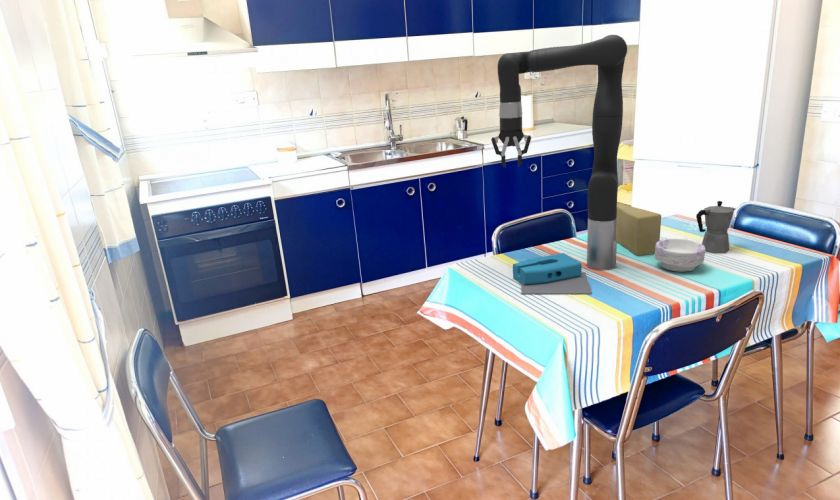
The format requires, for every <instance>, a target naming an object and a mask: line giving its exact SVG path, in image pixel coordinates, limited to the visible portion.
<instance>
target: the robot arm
mask: <svg viewBox="0 0 840 500" xmlns="http://www.w3.org/2000/svg"><path fill="white" fill-rule="evenodd" d="M627 54H628V44H627V42H626V40H625V39H624V37H622V36H620V35H618V34H609V35H606V36H604V37H602V38H599V39H595V40H593V41H589V42H585V43H580V44H574V45H564V46H561V45H560V46H553V47H552V46H551V47H544V48H537V49H532V50H530V51H521V52H510V53H504V54H502V55H501V56H500V57H499V59H498V61H497V77H498V84H499V113H498V116H499V133H498V135H497V136H492V137H491V143H492V146H493V149H494V152H495V155H497V156H498V155H499V156H500V157H501V158H500V159H501V160H500V161H501V166H503V168H506V167H507V166H506V165H507V164H506V163H507V162H506V151H507V147H515V148H516V151H517V167H520V166H521V165H522V164H523V155H524V154H527V153H528V150H529V146H530V145H531V144H530V143H531V140H532V136H531V135H530V134H529V135H527V134H524V131H523V106H522V89H521V85H520V75H521V74H526V73H527V74H528V73H542V72H549V71H556V70H561V69H566V68H572V67H579V66H597V84H596V85H597V86H596V91H595V95H594V101H593V108H592V121H591V122H592V125H591V126H592V127H591V130H592V131H591V132H592V133H591V134H592V146H593V152H594V156H593V165H592V171H591V176H590V179H589V181H588V185H587V186H588V187H587V215H588V216H587V237H586V238H587V239H586V240H587V242H586V243H587V245H586V246H587V247H586V266H587V267H588V268H589V269H593V270H598V271H604V270H605V271H606V270H611V269H616V268H617V266H616V265H617V248H618V243H617V241H616V218H617V203H618V191H619V189H618V188H619V177H618V174H619V173H618V151H619V147H620V142H621V137H622V130H623V118H624V117H623V116H624V99H623V83H622V81H623V71H624V66H625V60H626V57H627ZM523 139H524V142H525V145H524V148H523V149H521V146H520V143H521V141H522V140H523ZM499 140H500V142H501V143H502V144H503V145H502V150H500V149H499V147H498V143H499Z"/></svg>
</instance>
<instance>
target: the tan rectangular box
mask: <svg viewBox="0 0 840 500" xmlns="http://www.w3.org/2000/svg"><path fill="white" fill-rule="evenodd" d="M661 227H662V214H660V213H657V212H653V211H650V210H646V209H642V208H639V207H634V206H630V205H627V204H624V203H621V202H617V218H616V241H617V244H619V245H621V246H623V248H626V249H628V250H629V251H630V252H631V253H632V254H634V255H636V256H637V257H638V256H640V257H641V256H645V255H647V256H648V255H652V254H653V255H654V254H655V245H656V243H657V242H658V241H660V240H661Z"/></svg>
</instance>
